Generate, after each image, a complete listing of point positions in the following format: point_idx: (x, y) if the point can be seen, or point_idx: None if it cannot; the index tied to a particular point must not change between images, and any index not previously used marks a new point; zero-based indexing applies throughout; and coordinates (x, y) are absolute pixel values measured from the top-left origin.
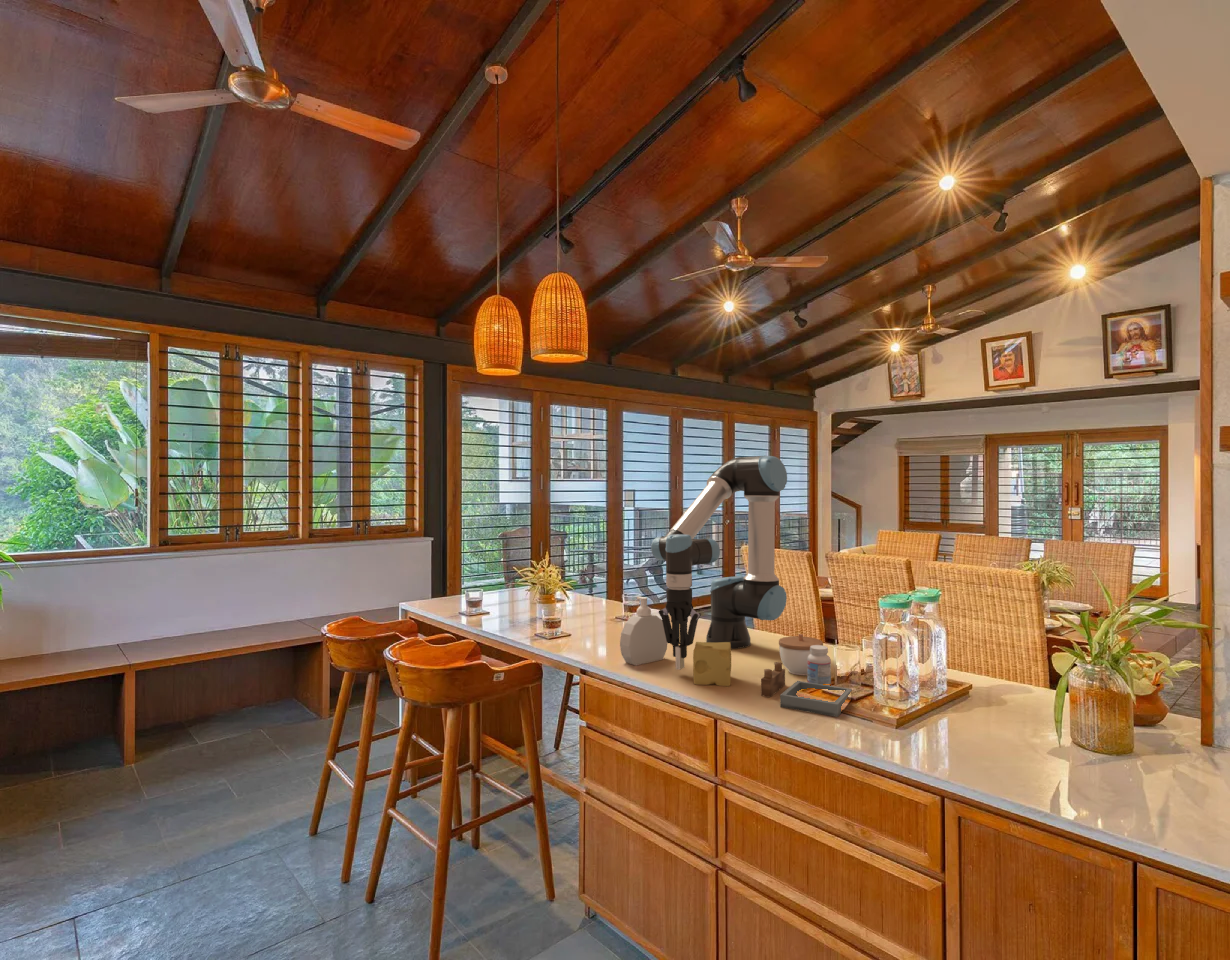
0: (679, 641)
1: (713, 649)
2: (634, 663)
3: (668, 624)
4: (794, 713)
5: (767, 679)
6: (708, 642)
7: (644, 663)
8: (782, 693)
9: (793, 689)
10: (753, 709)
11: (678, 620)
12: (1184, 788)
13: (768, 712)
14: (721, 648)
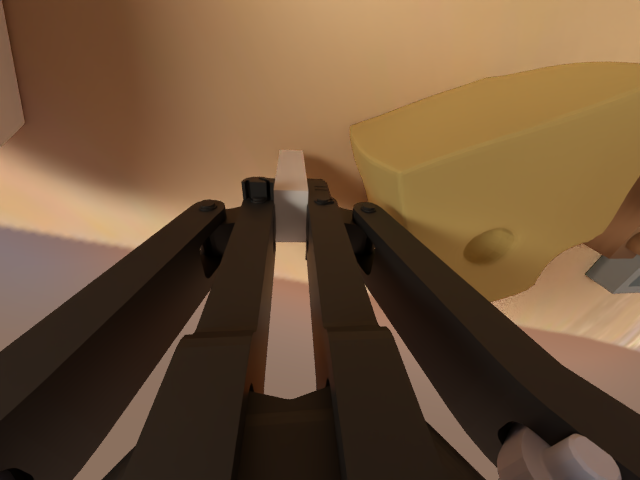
0: (273, 206)
1: (515, 288)
2: (16, 130)
3: (145, 342)
4: (601, 289)
5: (628, 256)
6: (493, 147)
7: (11, 53)
8: (623, 284)
9: None
10: (522, 304)
11: (256, 372)
12: None
13: (549, 304)
14: (562, 247)
